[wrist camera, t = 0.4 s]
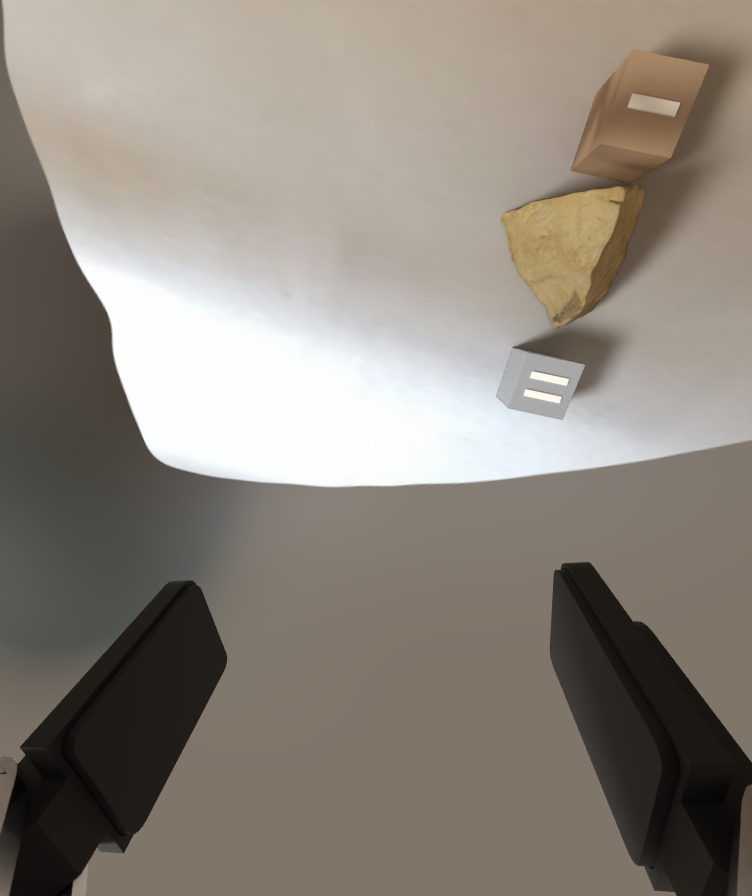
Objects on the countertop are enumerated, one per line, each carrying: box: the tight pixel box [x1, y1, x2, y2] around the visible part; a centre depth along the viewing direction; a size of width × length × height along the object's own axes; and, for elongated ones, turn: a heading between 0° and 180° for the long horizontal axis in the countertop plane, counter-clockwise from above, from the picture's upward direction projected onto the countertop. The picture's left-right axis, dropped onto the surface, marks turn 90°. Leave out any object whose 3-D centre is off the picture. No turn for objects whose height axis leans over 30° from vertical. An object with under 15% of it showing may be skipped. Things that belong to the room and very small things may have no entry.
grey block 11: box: [496, 348, 585, 420], centre depth 33 cm, size 5×5×5 cm
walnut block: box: [571, 49, 709, 183], centre depth 26 cm, size 5×5×5 cm
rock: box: [501, 184, 644, 328], centre depth 29 cm, size 11×9×10 cm
